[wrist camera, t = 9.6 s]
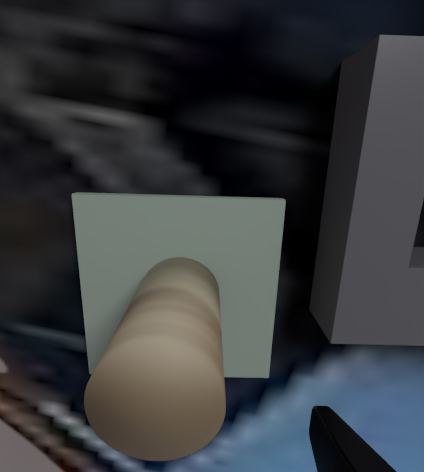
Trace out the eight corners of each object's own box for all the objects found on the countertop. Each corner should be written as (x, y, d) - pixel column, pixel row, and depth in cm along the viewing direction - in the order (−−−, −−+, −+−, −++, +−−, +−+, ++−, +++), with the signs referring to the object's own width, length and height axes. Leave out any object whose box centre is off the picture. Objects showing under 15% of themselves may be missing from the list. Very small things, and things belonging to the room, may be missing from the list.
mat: (266, 370, 17) (268, 377, 16) (93, 366, 17) (89, 374, 16) (282, 198, 14) (285, 200, 14) (77, 192, 14) (71, 194, 14)
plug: (217, 329, 16) (222, 462, 9) (142, 327, 16) (89, 459, 9) (220, 258, 15) (229, 348, 8) (139, 256, 15) (77, 344, 8)
